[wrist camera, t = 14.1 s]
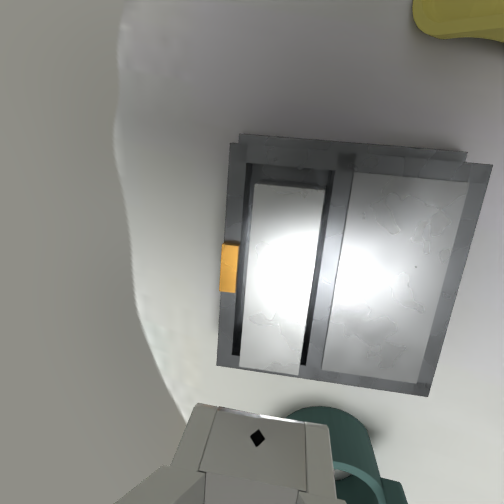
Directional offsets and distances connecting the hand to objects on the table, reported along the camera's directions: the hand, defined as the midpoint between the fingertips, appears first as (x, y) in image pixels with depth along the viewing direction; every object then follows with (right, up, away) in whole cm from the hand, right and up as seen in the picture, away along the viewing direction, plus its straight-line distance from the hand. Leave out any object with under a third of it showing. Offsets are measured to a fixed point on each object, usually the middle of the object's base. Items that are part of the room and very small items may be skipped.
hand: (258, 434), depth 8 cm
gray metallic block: (+2, +4, +16) cm, 16 cm away
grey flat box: (+5, +4, +16) cm, 17 cm away
